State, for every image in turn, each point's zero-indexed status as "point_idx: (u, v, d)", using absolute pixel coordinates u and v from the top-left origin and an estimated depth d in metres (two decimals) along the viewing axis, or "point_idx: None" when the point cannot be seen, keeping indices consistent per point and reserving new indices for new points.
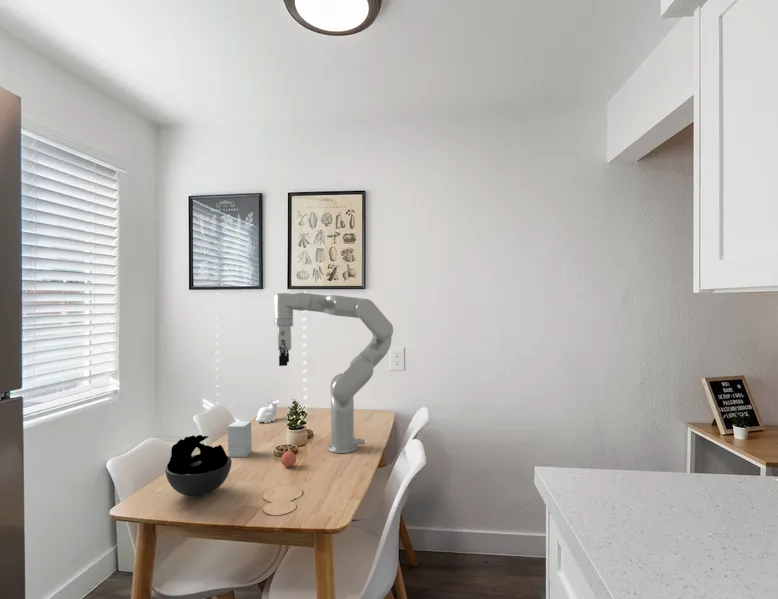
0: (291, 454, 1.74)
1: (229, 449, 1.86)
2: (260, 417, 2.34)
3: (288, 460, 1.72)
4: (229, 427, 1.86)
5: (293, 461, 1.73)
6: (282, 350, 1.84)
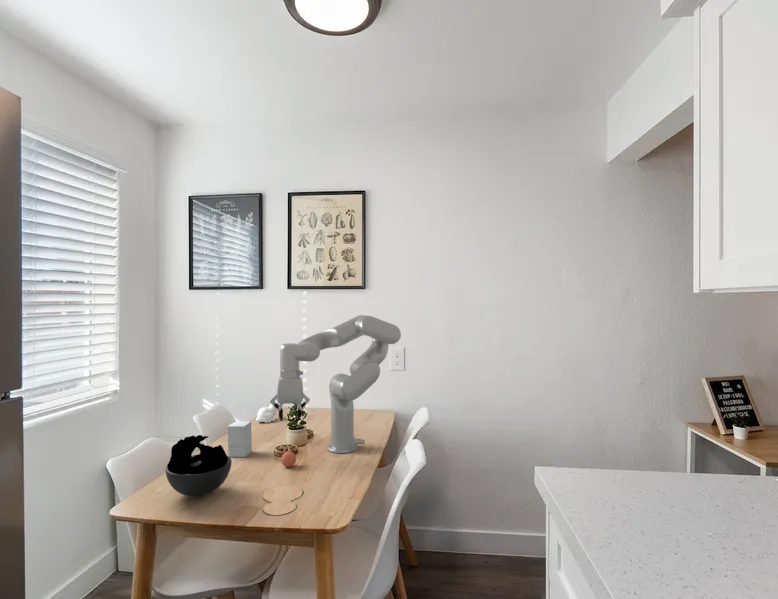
0: (291, 454, 1.74)
1: (229, 449, 1.86)
2: (260, 417, 2.34)
3: (288, 460, 1.72)
4: (229, 427, 1.86)
5: (293, 461, 1.73)
6: (306, 403, 1.85)
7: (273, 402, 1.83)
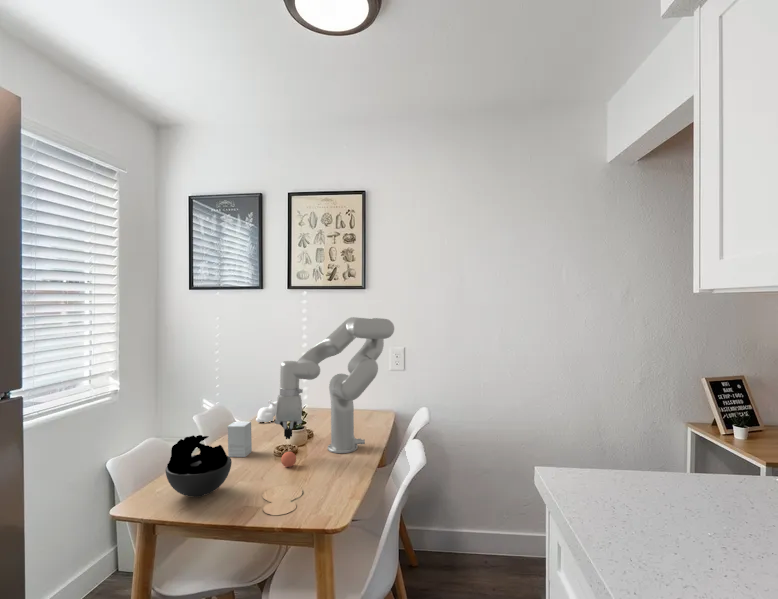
0: (291, 454, 1.74)
1: (229, 449, 1.86)
2: (260, 417, 2.34)
3: (288, 460, 1.72)
4: (229, 427, 1.86)
5: (293, 461, 1.73)
6: None
7: (278, 422, 1.83)
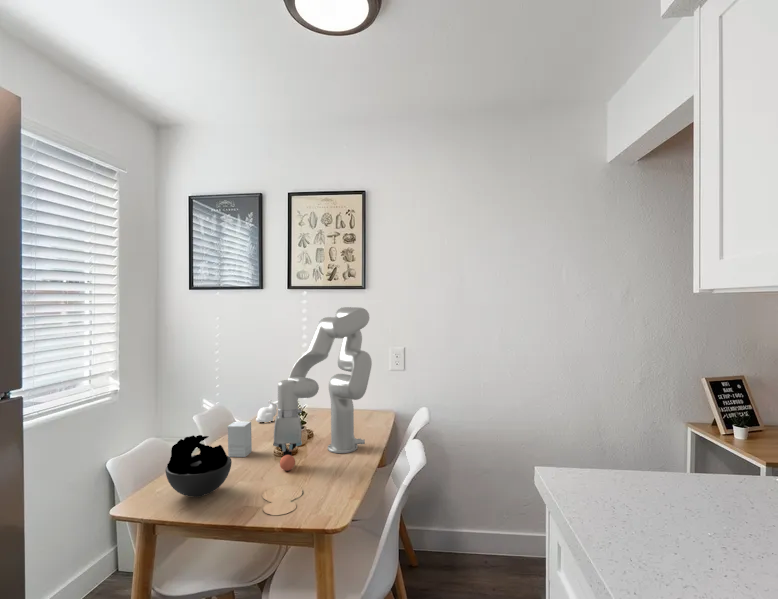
0: (290, 464, 1.69)
1: (229, 449, 1.86)
2: (260, 417, 2.34)
3: (287, 470, 1.70)
4: (229, 427, 1.86)
5: (292, 467, 1.71)
6: None
7: (276, 444, 1.75)
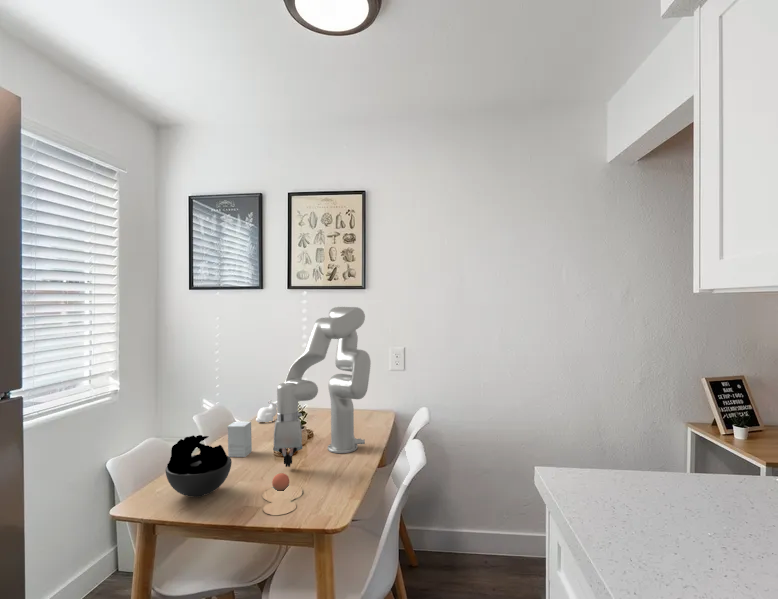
0: (283, 486, 1.51)
1: (229, 449, 1.86)
2: (260, 417, 2.34)
3: None
4: (229, 427, 1.86)
5: (286, 487, 1.53)
6: None
7: (276, 449, 1.71)
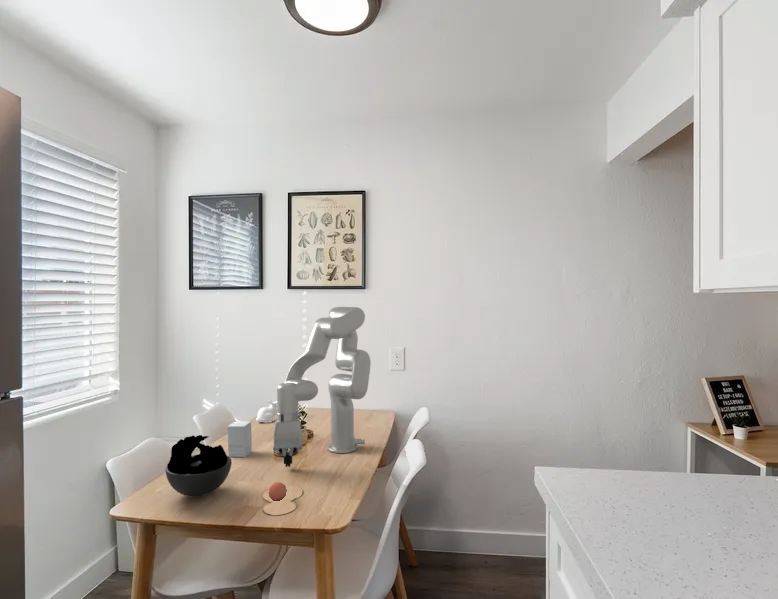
0: None
1: (229, 449, 1.86)
2: (260, 417, 2.34)
3: None
4: (229, 427, 1.86)
5: (284, 485, 1.47)
6: None
7: (276, 449, 1.71)
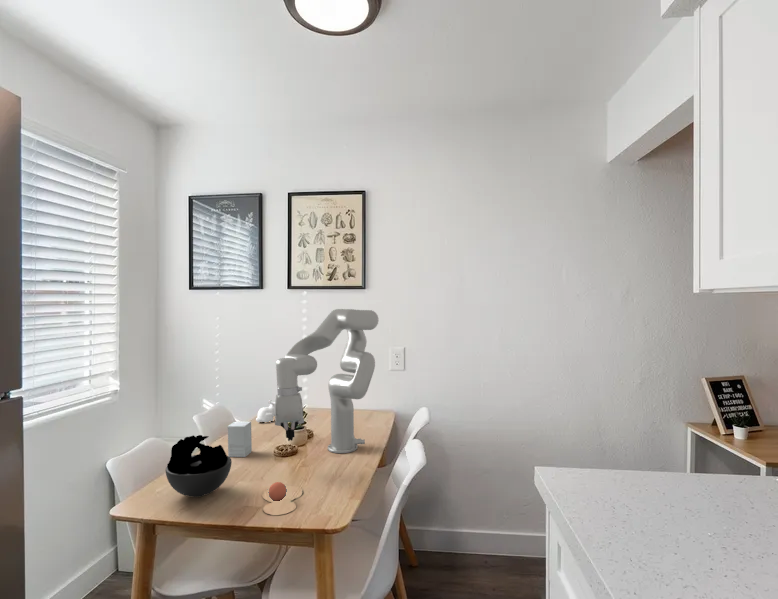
0: None
1: (229, 449, 1.86)
2: (260, 417, 2.34)
3: None
4: (229, 427, 1.86)
5: (284, 485, 1.47)
6: None
7: (278, 423, 1.71)
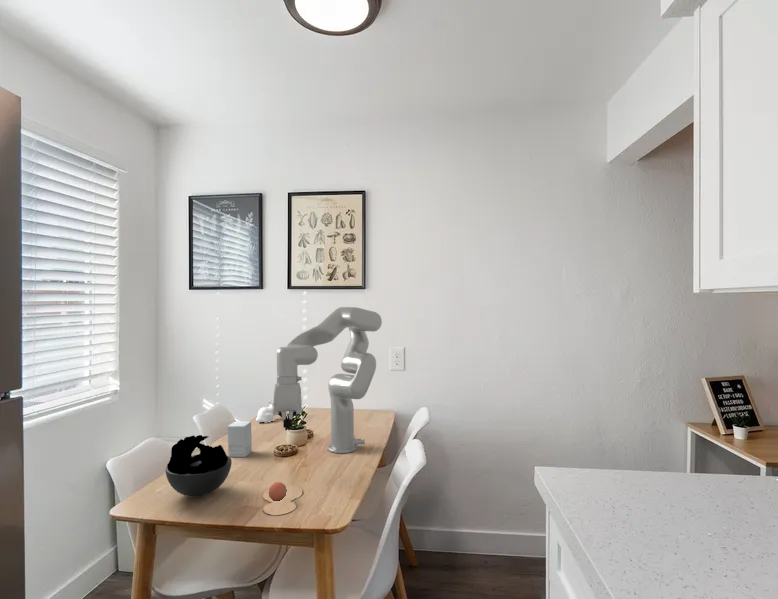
0: None
1: (229, 449, 1.86)
2: (260, 417, 2.34)
3: None
4: (229, 427, 1.86)
5: (284, 485, 1.47)
6: None
7: (276, 412, 1.71)
